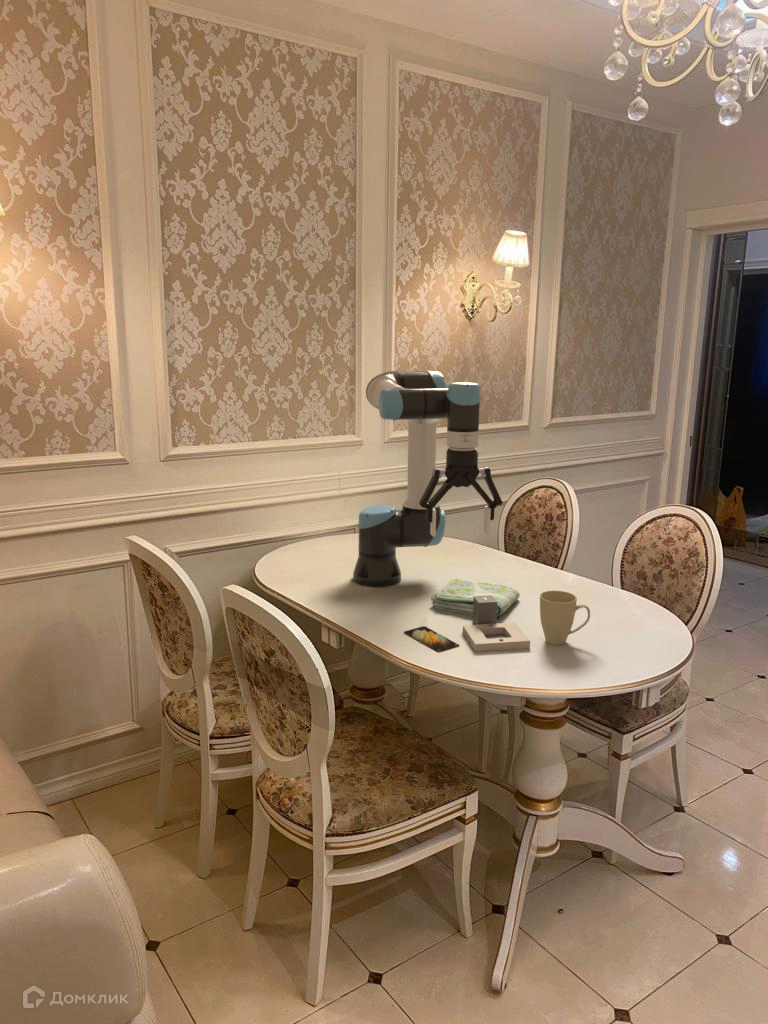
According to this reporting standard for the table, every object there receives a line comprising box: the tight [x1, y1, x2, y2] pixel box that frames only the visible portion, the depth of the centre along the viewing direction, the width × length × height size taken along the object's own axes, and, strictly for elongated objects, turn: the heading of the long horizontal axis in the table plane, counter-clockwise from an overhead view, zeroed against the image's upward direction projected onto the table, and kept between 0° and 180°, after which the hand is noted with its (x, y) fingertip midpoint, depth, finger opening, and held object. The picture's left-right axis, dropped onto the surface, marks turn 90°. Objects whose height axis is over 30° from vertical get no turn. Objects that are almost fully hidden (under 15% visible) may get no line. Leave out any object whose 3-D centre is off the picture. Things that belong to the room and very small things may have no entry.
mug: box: [539, 590, 591, 646], centre depth 187 cm, size 11×10×12 cm
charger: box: [472, 595, 498, 625], centre depth 198 cm, size 5×5×8 cm
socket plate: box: [462, 621, 531, 653], centre depth 189 cm, size 12×14×2 cm
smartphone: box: [403, 625, 460, 653], centre depth 190 cm, size 7×1×15 cm
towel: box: [430, 578, 520, 618], centre depth 214 cm, size 18×21×5 cm
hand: (459, 534), depth 183 cm, fingers open, 13 cm apart
